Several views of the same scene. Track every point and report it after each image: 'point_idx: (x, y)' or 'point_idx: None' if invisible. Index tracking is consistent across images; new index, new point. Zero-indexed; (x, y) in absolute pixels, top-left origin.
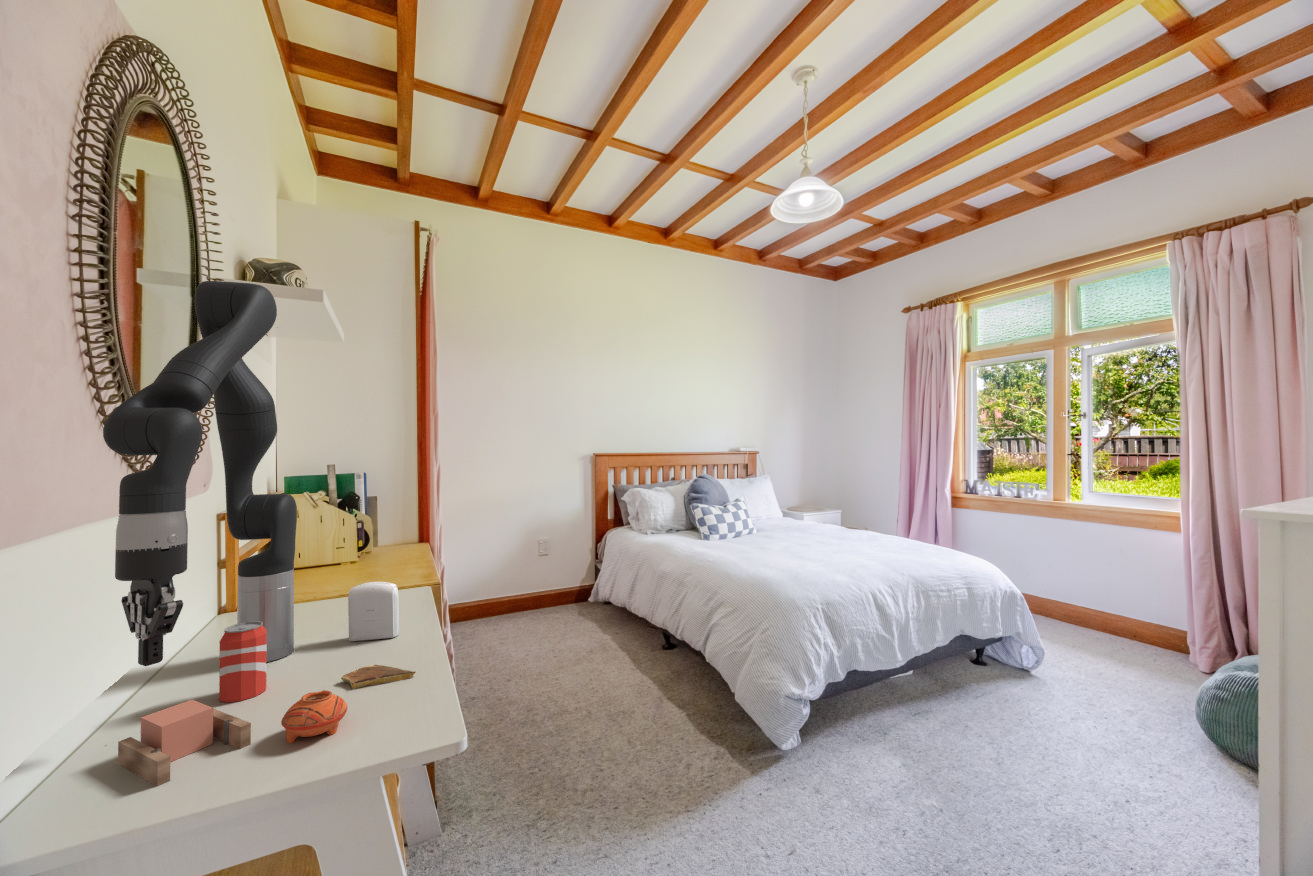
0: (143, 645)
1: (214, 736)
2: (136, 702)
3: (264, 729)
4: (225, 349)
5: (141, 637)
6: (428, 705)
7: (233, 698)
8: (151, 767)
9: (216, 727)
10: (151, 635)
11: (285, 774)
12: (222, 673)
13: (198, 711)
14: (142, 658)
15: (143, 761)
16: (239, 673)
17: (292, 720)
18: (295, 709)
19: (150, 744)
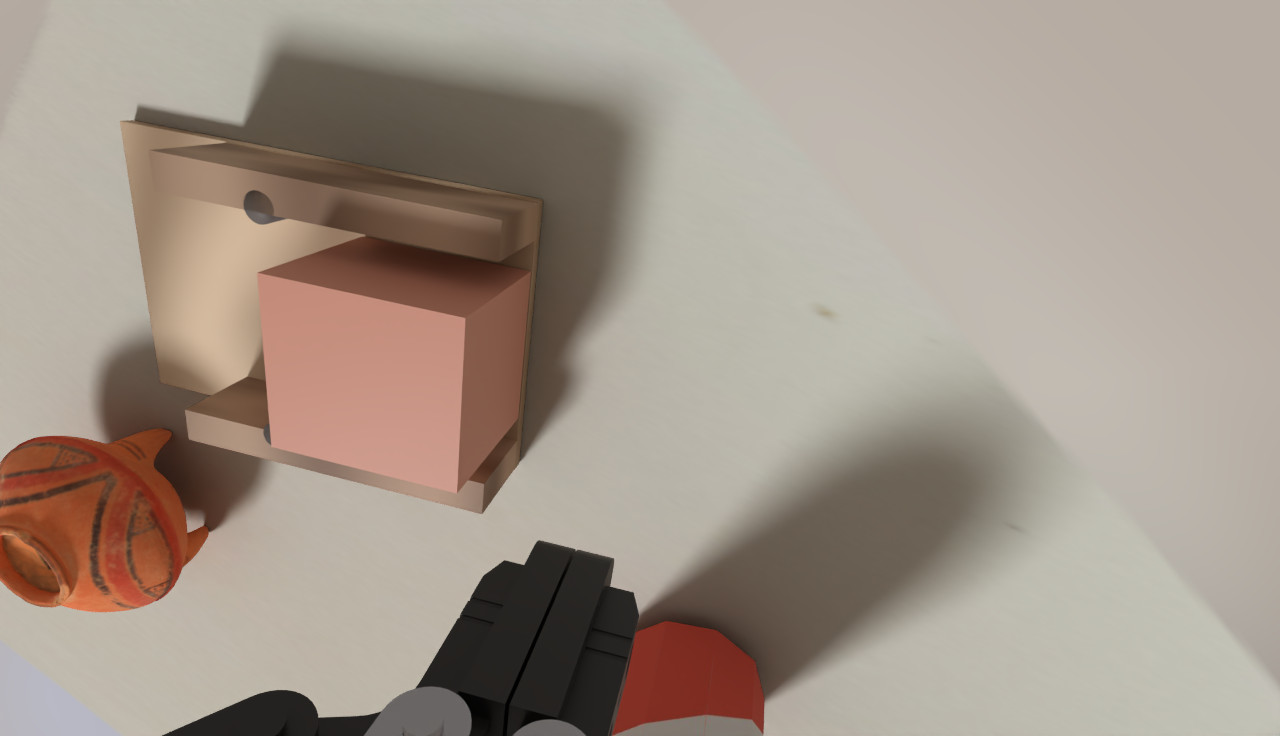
0: (479, 656)
1: None
2: (1167, 609)
3: (352, 497)
4: None
5: (427, 710)
6: (72, 657)
7: (644, 637)
8: (226, 157)
9: None
10: (234, 707)
11: (16, 309)
12: (680, 726)
13: (288, 411)
14: (526, 573)
15: (282, 169)
16: None
17: (33, 458)
18: (33, 497)
19: (418, 269)
